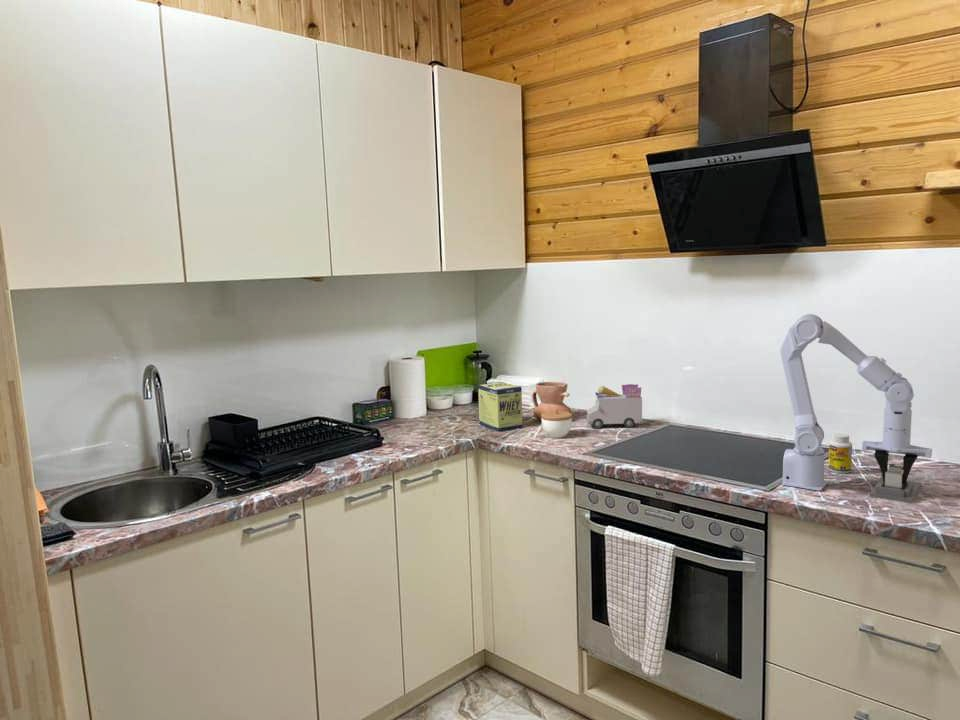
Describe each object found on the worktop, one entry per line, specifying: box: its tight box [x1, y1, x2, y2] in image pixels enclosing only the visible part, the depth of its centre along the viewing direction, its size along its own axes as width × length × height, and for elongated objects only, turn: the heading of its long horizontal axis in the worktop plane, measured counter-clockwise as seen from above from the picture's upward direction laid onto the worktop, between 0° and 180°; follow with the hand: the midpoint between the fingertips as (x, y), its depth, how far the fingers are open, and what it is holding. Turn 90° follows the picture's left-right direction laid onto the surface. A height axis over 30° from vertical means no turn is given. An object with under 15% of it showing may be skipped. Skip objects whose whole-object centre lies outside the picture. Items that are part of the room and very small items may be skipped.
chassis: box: [869, 476, 923, 504], centre depth 173 cm, size 9×15×2 cm, turn 141°
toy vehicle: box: [585, 383, 644, 430], centre depth 252 cm, size 9×20×15 cm, turn 88°
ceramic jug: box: [531, 381, 572, 421], centre depth 267 cm, size 18×14×14 cm
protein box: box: [477, 381, 523, 433], centre depth 258 cm, size 10×16×16 cm
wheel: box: [888, 463, 903, 470], centre depth 175 cm, size 4×4×2 cm
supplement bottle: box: [828, 433, 853, 474], centre depth 190 cm, size 6×6×10 cm
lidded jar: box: [540, 409, 573, 439], centre depth 241 cm, size 11×11×9 cm
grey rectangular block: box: [885, 467, 904, 490], centre depth 170 cm, size 4×4×6 cm
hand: (894, 482), depth 170 cm, fingers closed on grey rectangular block, 3 cm apart
